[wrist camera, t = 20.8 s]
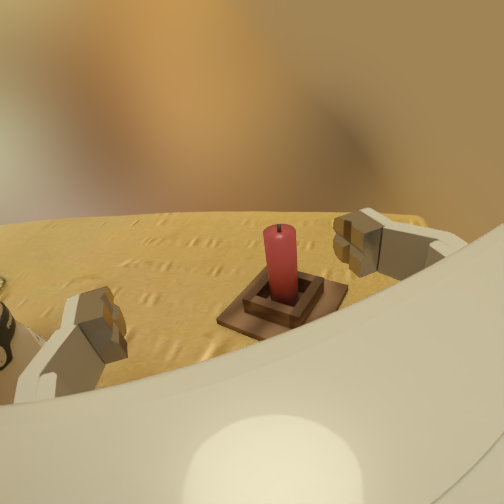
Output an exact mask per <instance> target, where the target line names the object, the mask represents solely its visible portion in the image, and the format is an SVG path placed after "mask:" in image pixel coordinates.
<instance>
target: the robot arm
mask: <svg viewBox="0 0 504 504" xmlns="http://www.w3.org/2000/svg"><path fill="white" fill-rule="evenodd" d="M333 229H334V230H335V232H336V235H335V237H334V239H333V248H334V252H335V254H336V256H337V258H338V259H339V260H340V261H341V262H343V263H347V264H349V269H350V270H351V271H352V272H354V273H355V274H356V275H357V276H358V277H359V278H361V277H363V276H366V275H368V274H371V273H374V272H376V271H378V272H379V273H382V274H384V275H387V276H389V277H392V278H395V279H397V280H400V282H398V283H396V284H394V285H392V286H390V287H388V288H386V289H384V290H381V291H379V292H377V293H375V294H373V295H371V296H369V297H367V298H364V299H362V300H360V301H358V302H356V303H353V304H351V305H349V306H347V307H344V308H342V309H340V310H338V311H335V312H333V313H331V314H328V315H326V316H324V317H321V318H319V319H317V320H314V321H312V322H309V323H307V324H304V325H302V326H300V327H297V328H295V329H292V330H289V331H287V332H284V333H282V334H279V335H276V336H274V337H271V338H268V339H266V340H263V341H260V342H258V343H255V344H252V345H249V346H246V347H244V348H241V349H238V350H235V351H232V352H229V353H226V354H223V355H220V356H217V357H214V358H211V359H208V360H205V361H201V362H198V363H195V364H192V365H188V366H185V367H182V368H178V369H175V370H171V371H168V372H164V373H161V374H157V375H154V376H150V377H146V378H142V379H138V380H135V381H131V382H127V383H123V384H118V385H114V386H110V387H105V388H101V389H96V390H94V388H95V386H96V384H97V382H98V380H99V378H100V376H101V374H102V372H103V370H104V368H105V364H108V363H111V362H115V361H118V360H122V359H125V358H128V354H127V342H126V340H125V339H124V336H125V335H126V324H125V320H124V317H123V314H122V312H121V310H120V308H119V306H117V305H115V304H113V301H114V296H113V294H112V292H111V290H110V288H108V287H107V286H106V287H102V288H99V289H95V290H92V291H88V292H85V293H82V294H78V295H75V296H72V297H69V298H68V299H67V300H66V305H65V309H64V313H63V317H62V322H61V326H60V329H59V330H56V331H55V332H54V334H53V335H52V336H51V337H50V338H49V340H48V341H45V340H44V339H43V338H41V337H40V336H38V335H37V334H36V333H34V332H33V331H32V330H30V329H29V327H25V326H24V325H23V324H21V323H19V322H18V321H16V320H15V319H14V318H13V316H12V315H11V312H10V311H9V309H8V308H7V307H6V306H5V305H4V303H2V302H0V504H504V223H502V224H501V225H499V226H498V227H496V228H494V229H493V230H491V231H490V232H488V233H486V234H485V235H483V236H482V237H480V238H478V239H477V240H475V241H473V242H471V243H470V244H468V243H467V242H465V241H463V240H462V239H460V238H459V237H457V236H455V235H454V234H452V233H449V232H445V231H440V230H435V229H430V228H426V227H421V226H416V225H411V224H406V223H400V222H397V223H395V222H393V221H391V220H390V219H388V218H386V217H385V216H383V215H381V214H380V213H378V212H376V211H374V210H373V209H371V208H364V209H361V210H358V211H355V212H352V213H349V214H346V215H343V216H340V217H337V218H335V219H334V222H333Z"/></svg>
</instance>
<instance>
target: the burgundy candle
mask: <svg viewBox="0 0 504 504" xmlns="http://www.w3.org/2000/svg"><path fill="white" fill-rule="evenodd" d="M263 236H264V245H265V253H266V262H267V271H268V279H269V288H270V297H271V300H272V301H275V302H278V303H281V304H284V305H287V306H291V307H295V305H296V304H297V302H298V301H299V299H298V270H297V248H296V230H295V228H294V227H293V226H291V225H287V224H276V225H272V226H269V227H267V228H266V229H265V230H264V231H263Z"/></svg>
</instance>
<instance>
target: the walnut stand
mask: <svg viewBox="0 0 504 504" xmlns="http://www.w3.org/2000/svg"><path fill="white" fill-rule="evenodd" d="M347 290H348V285H345V284H341V283H337V282H333V281H329V280H325V279H324V278H322V277H319V276H315V275H311V274H307V273H303V272H299V271H298V299H299V301H298V302H297V304H296V305H295V307H291V306H287V305H284V304H281V303H278V302H275V301H272V300H271V297H270V288H269V279H268V271H267V266H266V267H265V268H264V269H263V270H262V271H261V272H260V273H259V274H258V275H257V276H256V278H255V279H254V280H253V281H252V282H251V283H250V284H249V285H248V286H247V287H246V288H245V289H244V290H243V291H242V292H241V294H240V295H239V296H238V297H237V298H236V299H235V300H234V301H233V302H232V303H231V304H230V305H229V306H228V307H227V308H226V309H225V310H224V311H223V313H222V314H221V315H220V316H219V317H218V318H217V319H216V320H217V323H218V324H220V325H223V326H225V327H227V328H230V329H232V330H234V331H237V332H239V333H242V334H244V335H247V336H249V337H252V338H254V339H257V340H259V341H263V340H266V339H268V338H271V337H274V336H276V335H279V334H282V333H284V332H287V331H289V330H292V329H295V328H297V327H300V326H302V325H304V324H307V323H309V322H312V321H314V320H317V319H319V318H321V317H324V316H326V315H328V314H331V313H333V312H335V311H337V310H338V308H339V306H340V304H341V302H342V300H343V298H344V296H345V294H346V292H347Z"/></svg>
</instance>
